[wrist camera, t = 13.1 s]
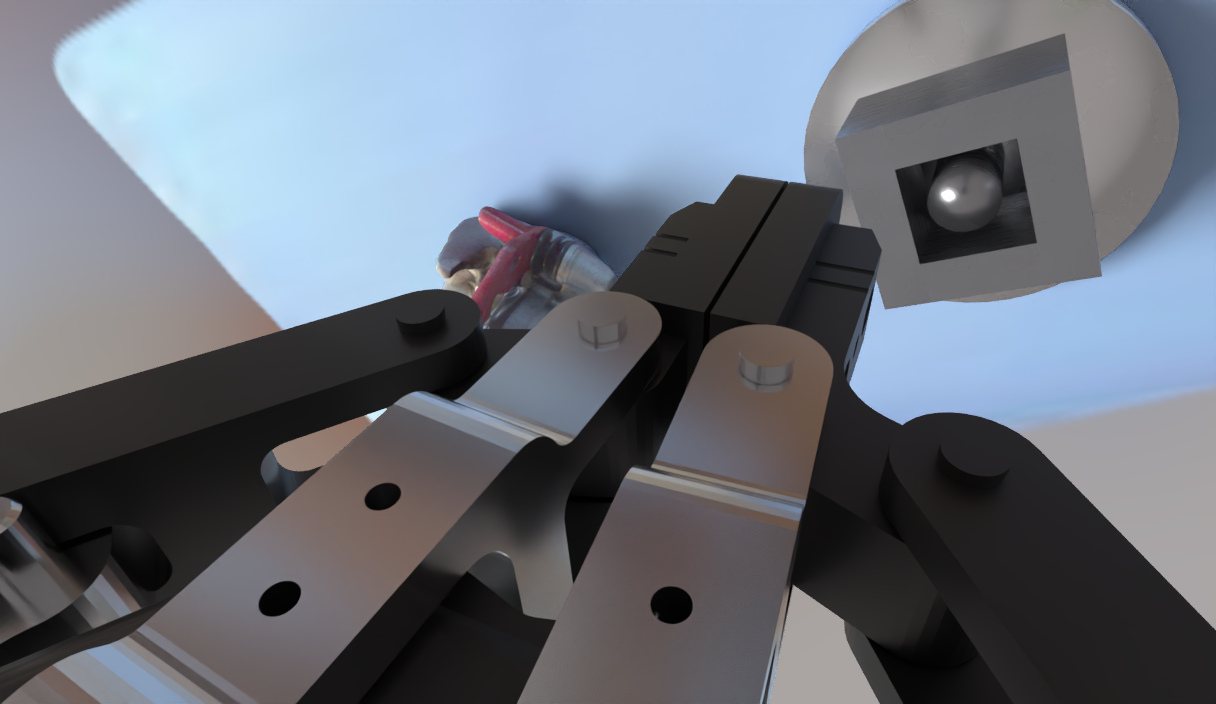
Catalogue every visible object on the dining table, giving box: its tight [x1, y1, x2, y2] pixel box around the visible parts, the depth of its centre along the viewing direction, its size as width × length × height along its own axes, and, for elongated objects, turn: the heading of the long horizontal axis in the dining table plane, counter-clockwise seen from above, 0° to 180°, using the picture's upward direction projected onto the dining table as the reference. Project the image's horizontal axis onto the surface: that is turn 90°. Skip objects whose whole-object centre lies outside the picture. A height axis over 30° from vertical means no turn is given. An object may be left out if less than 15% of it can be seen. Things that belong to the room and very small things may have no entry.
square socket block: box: [835, 33, 1102, 309], centre depth 23 cm, size 6×6×4 cm
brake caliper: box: [436, 207, 618, 329], centre depth 35 cm, size 11×11×12 cm
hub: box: [804, 0, 1180, 302], centre depth 24 cm, size 11×11×5 cm
